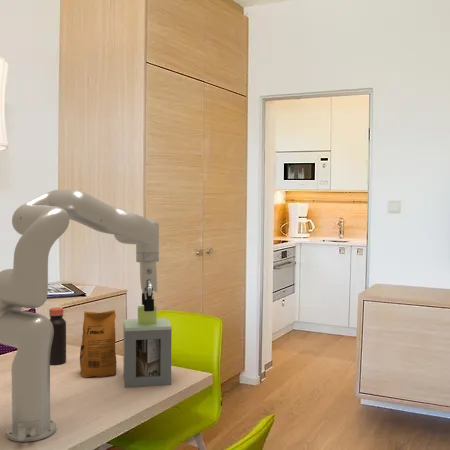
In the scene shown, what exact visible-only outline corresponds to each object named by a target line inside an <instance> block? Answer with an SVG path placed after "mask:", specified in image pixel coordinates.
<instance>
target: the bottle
mask: <svg viewBox="0 0 450 450" xmlns="http://www.w3.org/2000/svg"><path fill="white" fill-rule="evenodd" d="M63 316H64V308H63V307H50V308H49V320H50V321H51V323H52V325H53V328H54V335H53V340H52V345H51V352H50V366H57V365H59V366H60V365H63V364H65V363H66V362H67V321H66V320H65V319H64V318H63Z"/></svg>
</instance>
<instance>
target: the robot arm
mask: <svg viewBox="0 0 450 450" xmlns="http://www.w3.org/2000/svg"><path fill="white" fill-rule="evenodd" d="M70 220H71V221H75V222H77V223H79V224H81V225H83V226H86V227H87V228H90V229H92V230H95V231H96V232H99V233H104V234H108V235H109V234H110V235H113V237H114V239H115V240H117V242H119V243H121V244H124V245H125V244H126V245H135V261H136V263H139V282H140V289H141V306H144V311H145V312H146V311H154V306H155V298H154V297H155V296H154V293H156V292H158V278H157V277H158V276H157V275H158V274H157V270H158V269H157V263H159V262H160V230H159V229H160V225H159V222H158V221H157V220H154V219H147V218H145V217H144V216H141V215H139V214H137V213H134V212H131V211H127V210H125V209H122V208H119V207H115V206H112V205H110V204H108V203H105V202H104V201H102V200H100V199H98V198H96V197H94V196H92V195H90V194H88V193H87V192H85V191H82V190H79V189H53V190H51V191H48V192H46V193H44V194H41V195H39V196H38V197H35V198H34V199H31V200H29V201H28V202H25V203H23V204H22V205H20V206H19V207H18V208H16V210H15V211H14V212H13V214H12V219H11V224H12V227H13V230H15V231H16V233H18V234H19V235H21V236H20V238H19V239H18V241H17V243H16V245H15V247H14V251H13V263H12V264H13V265H12V268H7V269H4V270H2V271H0V344H1V345H4V346H9V347H13V348H16V349H17V351H16V353H15V356H14V357H13V360H12V363H11V424H10V425H9V426H7V427H6V429H5V436H6V437H7V439H9V440H11V441H15V442H21V443H23V442H24V443H26V442H34V441H39V440H43V439H46V438H48V437H50V436H52V435H53V434H54V433H56V431H57V423H56V421H55V420H52V419H51V365H50V352H51V345H52V340H53V335H54V328H53V325H52V323H51V321H50V318H48V317H47V316H45V315H43V314H40V313H38V312H37V313H36V312H32V311H24V310H23V309H37V308H40V307H42V306H44V304H45V302H46V301H47V299H48V298H47V297H48V292H49V255H50V251H51V249H52V247H53V245H54V244H55V243H56V241H58V239H60V237H61V236H62V235H63V234H65V232H66V231H67V229H68V227H69V224H70ZM22 308H23V309H22Z"/></svg>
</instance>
